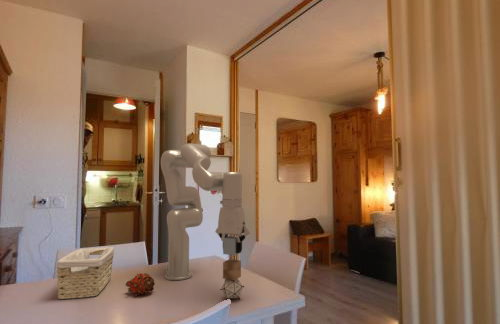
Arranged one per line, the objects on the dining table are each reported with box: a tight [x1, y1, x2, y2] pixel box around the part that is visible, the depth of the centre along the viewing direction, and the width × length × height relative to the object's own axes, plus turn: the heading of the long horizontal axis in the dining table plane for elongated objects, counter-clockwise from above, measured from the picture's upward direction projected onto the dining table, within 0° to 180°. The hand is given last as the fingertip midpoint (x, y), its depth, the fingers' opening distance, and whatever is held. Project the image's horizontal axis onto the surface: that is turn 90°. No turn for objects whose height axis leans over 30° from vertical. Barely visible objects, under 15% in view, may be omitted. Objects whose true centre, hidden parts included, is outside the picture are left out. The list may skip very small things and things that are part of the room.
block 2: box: [222, 258, 242, 280], centre depth 111 cm, size 5×5×6 cm
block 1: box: [222, 235, 242, 256], centre depth 111 cm, size 5×5×6 cm
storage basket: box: [56, 246, 115, 300], centre depth 122 cm, size 24×16×15 cm
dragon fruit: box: [125, 272, 156, 297], centre depth 116 cm, size 8×8×12 cm
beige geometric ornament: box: [219, 278, 245, 300], centre depth 110 cm, size 9×8×10 cm
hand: (232, 251), depth 111 cm, fingers closed on block 1, 5 cm apart
